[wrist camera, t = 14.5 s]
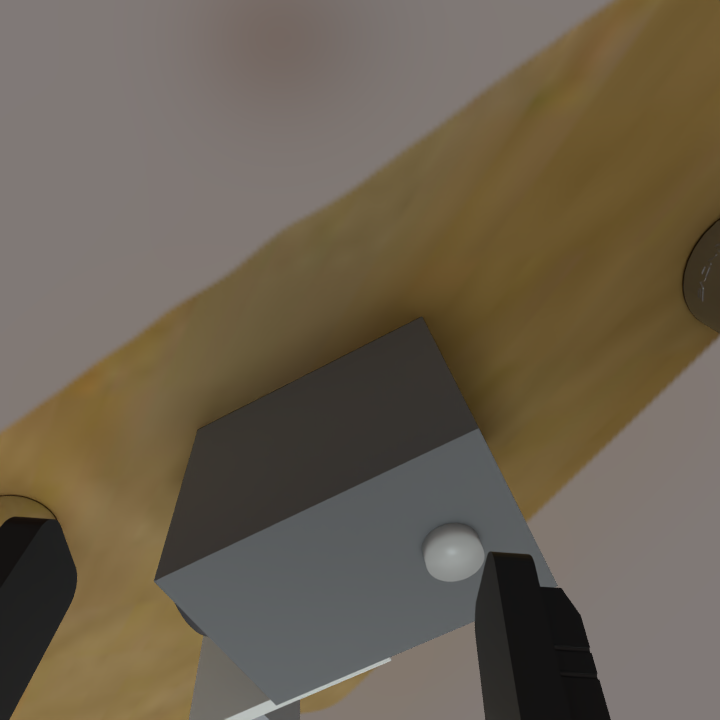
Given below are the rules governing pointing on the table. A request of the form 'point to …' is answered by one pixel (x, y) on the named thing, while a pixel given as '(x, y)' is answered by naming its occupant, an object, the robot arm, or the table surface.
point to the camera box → (340, 518)
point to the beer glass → (22, 508)
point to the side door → (240, 691)
